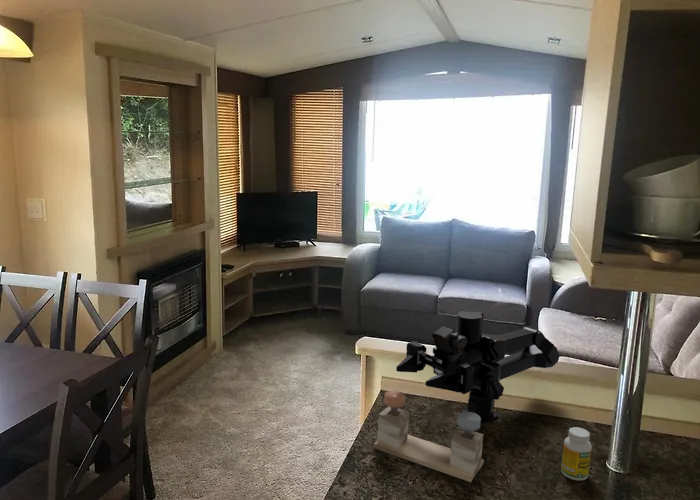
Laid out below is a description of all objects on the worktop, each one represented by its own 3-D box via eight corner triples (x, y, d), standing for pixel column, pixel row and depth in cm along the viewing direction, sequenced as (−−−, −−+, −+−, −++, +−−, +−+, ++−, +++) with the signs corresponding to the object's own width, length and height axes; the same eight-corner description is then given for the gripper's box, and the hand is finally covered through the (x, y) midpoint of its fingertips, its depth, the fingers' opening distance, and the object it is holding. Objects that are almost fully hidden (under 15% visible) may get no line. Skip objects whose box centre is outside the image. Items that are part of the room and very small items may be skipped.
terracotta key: (389, 402, 129) (390, 388, 128) (408, 408, 127) (408, 394, 126) (380, 410, 125) (380, 396, 125) (398, 416, 123) (399, 401, 122)
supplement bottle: (571, 463, 122) (576, 422, 120) (593, 476, 118) (599, 434, 116) (555, 471, 119) (560, 429, 117) (577, 484, 115) (583, 441, 113)
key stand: (390, 432, 132) (391, 402, 131) (483, 463, 121) (486, 431, 119) (373, 447, 126) (374, 416, 124) (470, 482, 114) (473, 448, 113)
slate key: (461, 424, 120) (462, 409, 120) (482, 430, 118) (483, 415, 117) (453, 433, 117) (454, 418, 116) (474, 440, 114) (476, 424, 114)
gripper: (431, 315, 139) (383, 329, 129) (493, 337, 124) (443, 355, 115) (430, 357, 141) (382, 374, 132) (490, 384, 127) (442, 405, 117)
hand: (411, 376), depth 124 cm, fingers open, 9 cm apart
